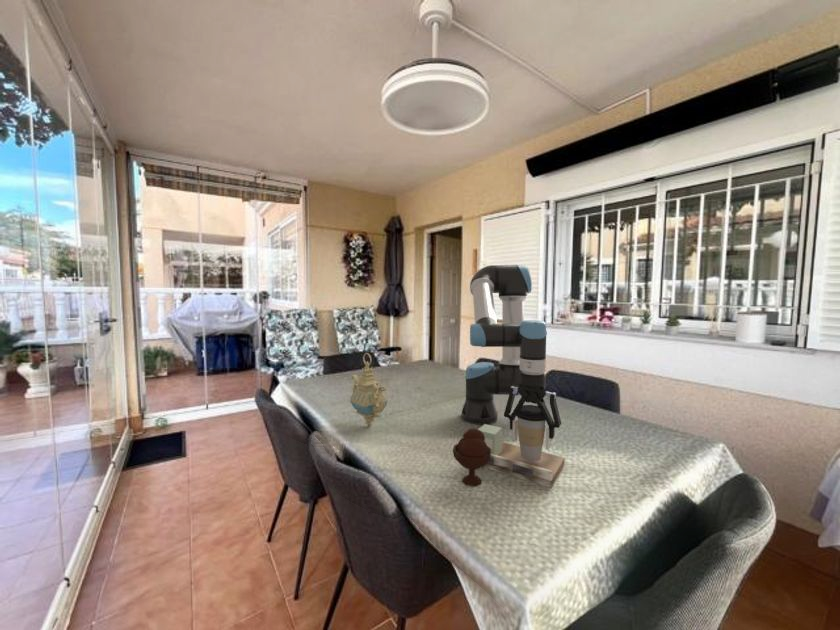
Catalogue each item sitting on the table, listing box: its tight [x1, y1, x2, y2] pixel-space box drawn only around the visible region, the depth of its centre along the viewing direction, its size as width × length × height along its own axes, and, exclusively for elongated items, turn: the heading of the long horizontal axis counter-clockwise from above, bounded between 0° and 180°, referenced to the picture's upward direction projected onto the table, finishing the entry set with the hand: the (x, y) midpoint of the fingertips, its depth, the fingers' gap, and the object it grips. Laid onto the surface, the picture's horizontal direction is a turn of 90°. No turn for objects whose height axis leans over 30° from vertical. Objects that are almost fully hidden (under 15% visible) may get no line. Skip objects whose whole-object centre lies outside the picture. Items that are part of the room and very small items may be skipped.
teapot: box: [349, 352, 388, 428], centre depth 141 cm, size 24×12×30 cm, turn 39°
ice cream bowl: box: [452, 428, 491, 487], centre depth 102 cm, size 11×11×15 cm
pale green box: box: [477, 424, 503, 455], centre depth 115 cm, size 6×6×8 cm
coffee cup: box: [516, 404, 546, 461], centre depth 108 cm, size 9×9×15 cm
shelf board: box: [482, 441, 566, 489], centre depth 112 cm, size 24×16×4 cm
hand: (531, 444), depth 109 cm, fingers closed on coffee cup, 9 cm apart
